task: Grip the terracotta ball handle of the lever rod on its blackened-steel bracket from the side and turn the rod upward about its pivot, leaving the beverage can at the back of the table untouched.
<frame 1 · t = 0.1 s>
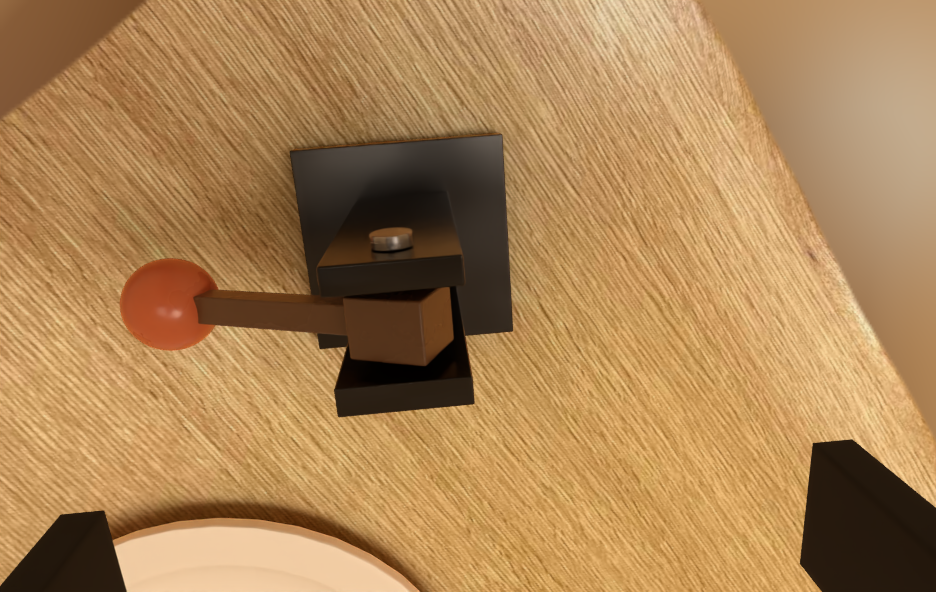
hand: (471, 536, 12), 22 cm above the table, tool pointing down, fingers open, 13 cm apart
lever rod: (272, 311, 24), point 10 cm above the table, hinge at -25.0°
rod bracket: (407, 240, 33), on the table
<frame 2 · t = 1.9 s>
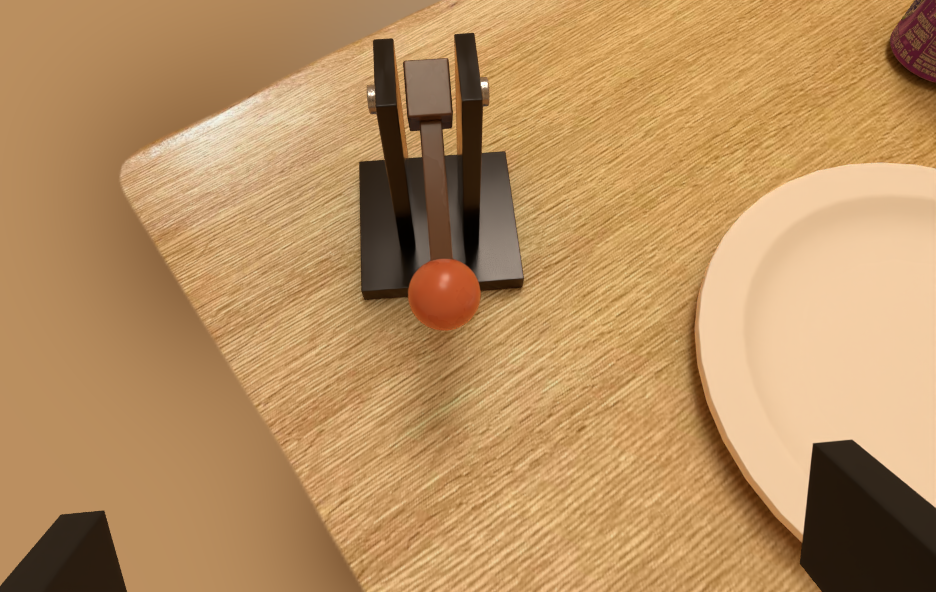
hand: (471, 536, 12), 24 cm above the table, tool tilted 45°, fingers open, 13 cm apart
beverage can: (930, 60, 51), on the table
lever rod: (436, 198, 33), point 10 cm above the table, hinge at -25.0°
rod bracket: (438, 227, 44), on the table
plate: (924, 376, 39), on the table
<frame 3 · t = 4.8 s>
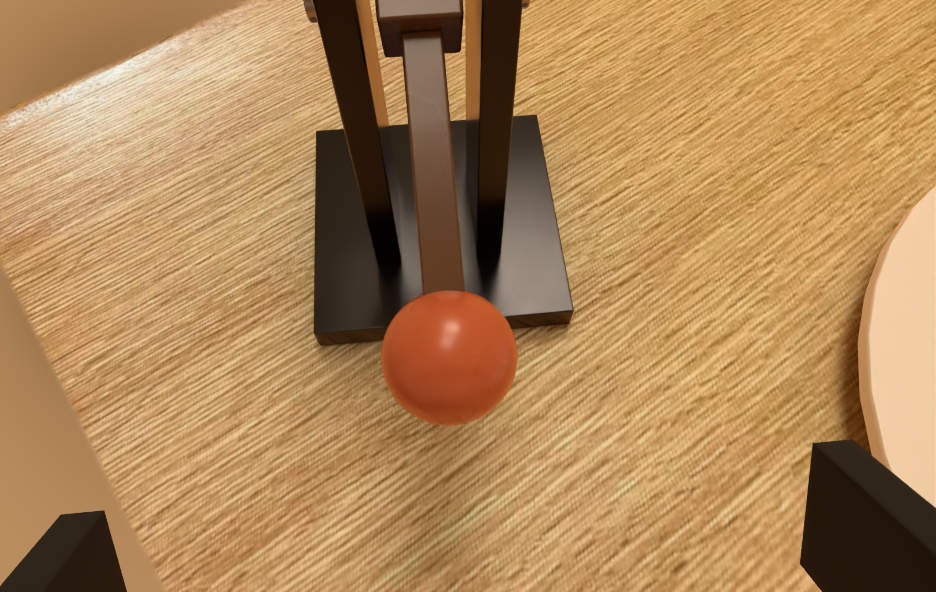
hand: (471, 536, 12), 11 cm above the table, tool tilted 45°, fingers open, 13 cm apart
lever rod: (433, 177, 18), point 10 cm above the table, hinge at -25.0°
rod bracket: (436, 229, 28), on the table
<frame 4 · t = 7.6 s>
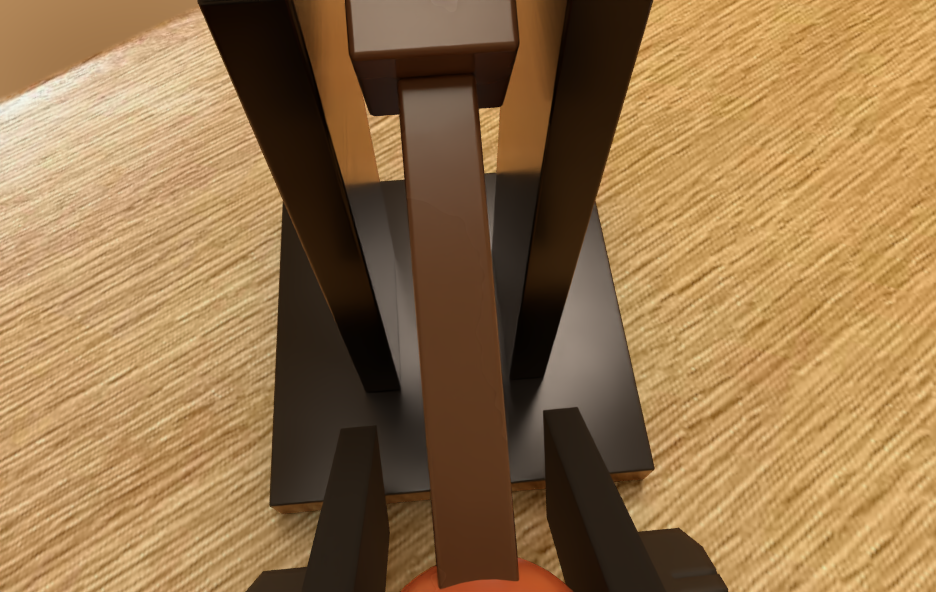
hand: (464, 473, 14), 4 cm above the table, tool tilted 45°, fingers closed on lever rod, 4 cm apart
lever rod: (458, 348, 9), point 10 cm above the table, hinge at -25.0°, touching gripper
rod bracket: (450, 330, 20), on the table
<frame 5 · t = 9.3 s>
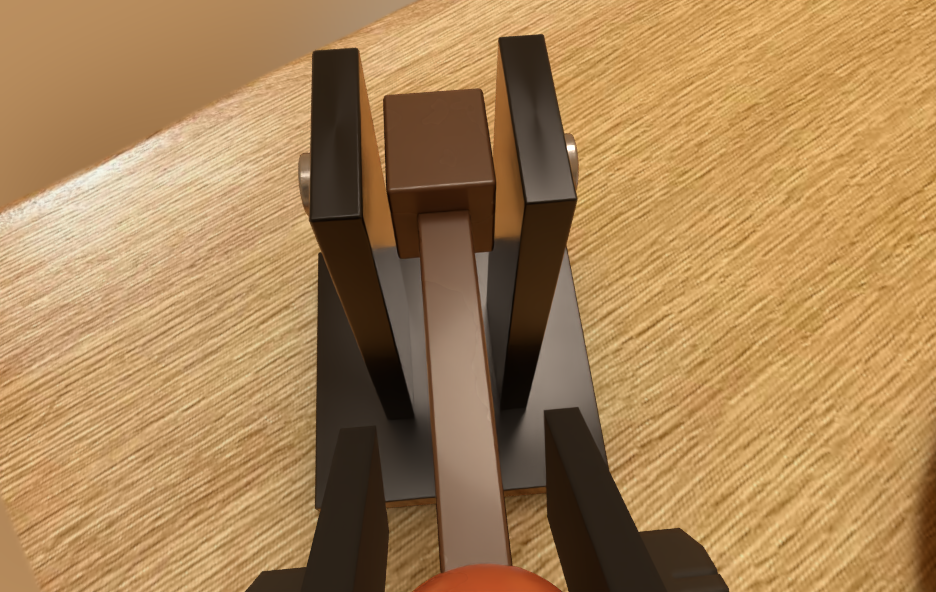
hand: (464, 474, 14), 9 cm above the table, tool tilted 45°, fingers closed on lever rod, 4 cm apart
lever rod: (459, 390, 12), point 12 cm above the table, hinge at 4.1°, touching gripper
rod bracket: (452, 368, 25), on the table
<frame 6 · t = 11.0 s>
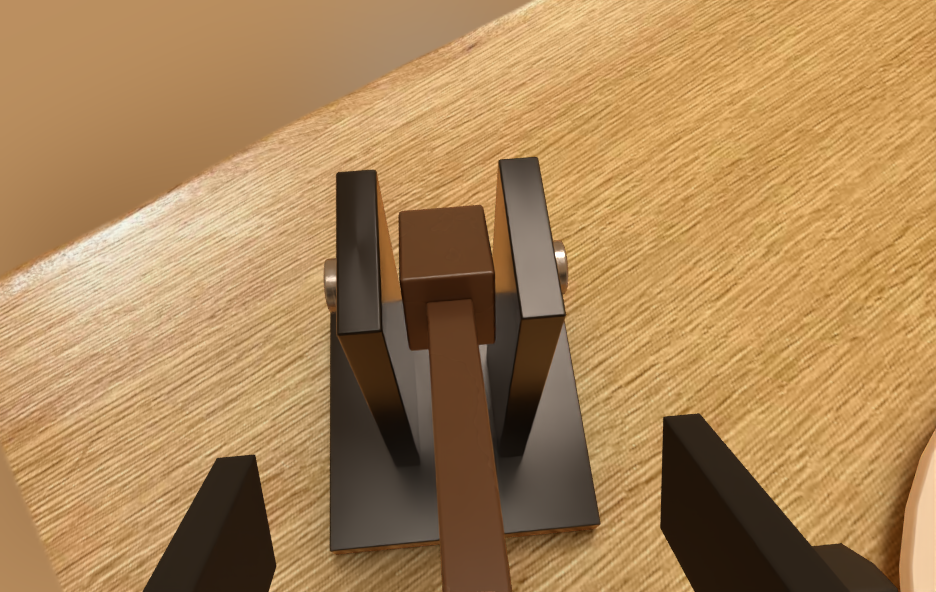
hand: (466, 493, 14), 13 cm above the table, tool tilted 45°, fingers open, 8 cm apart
lever rod: (463, 447, 13), point 14 cm above the table, hinge at 20.6°
rod bracket: (455, 415, 27), on the table
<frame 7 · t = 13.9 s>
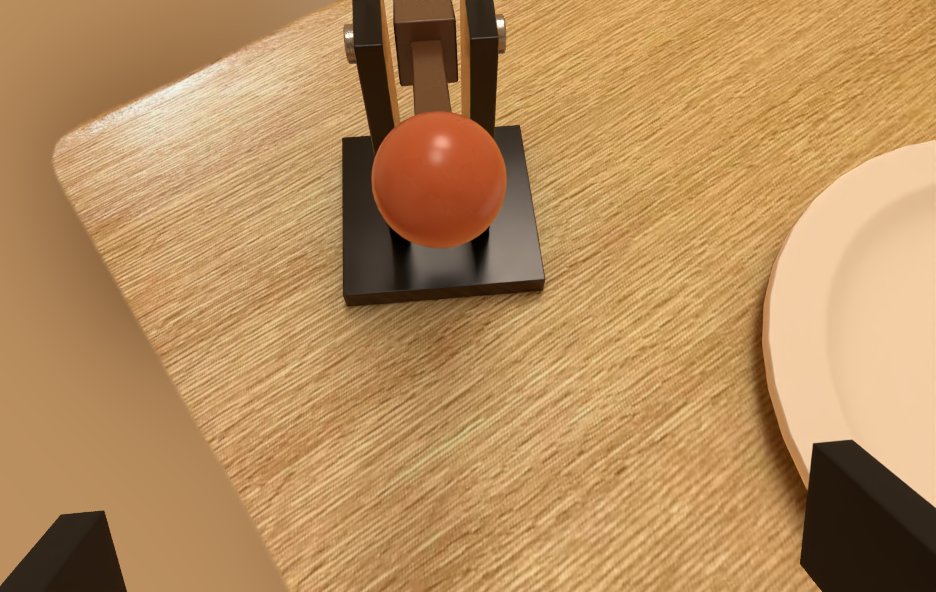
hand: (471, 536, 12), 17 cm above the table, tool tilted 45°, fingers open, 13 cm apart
lever rod: (431, 100, 21), point 14 cm above the table, hinge at 20.6°
rod bracket: (438, 217, 36), on the table
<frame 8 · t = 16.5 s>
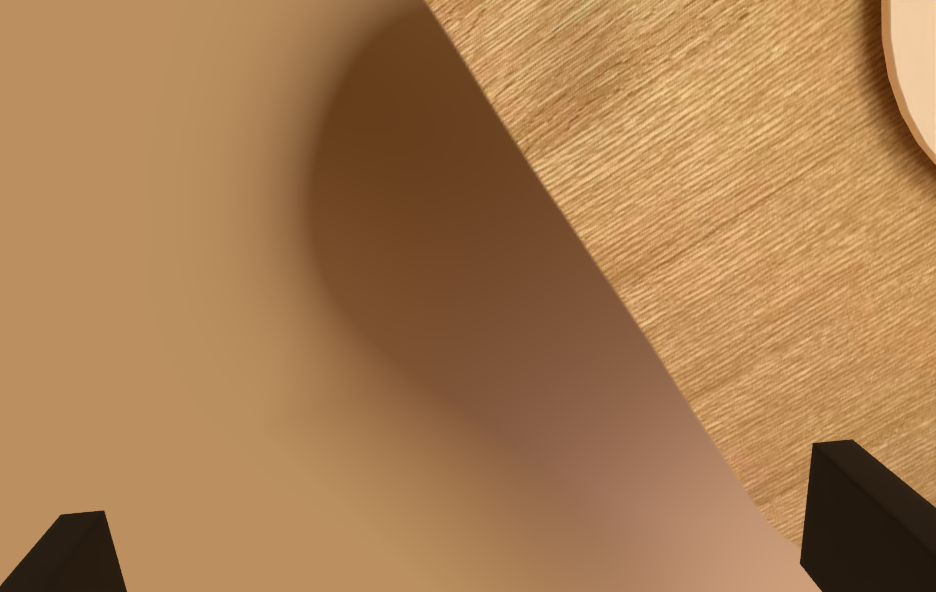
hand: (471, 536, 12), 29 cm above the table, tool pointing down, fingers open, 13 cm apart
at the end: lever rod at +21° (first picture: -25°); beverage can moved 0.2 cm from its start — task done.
